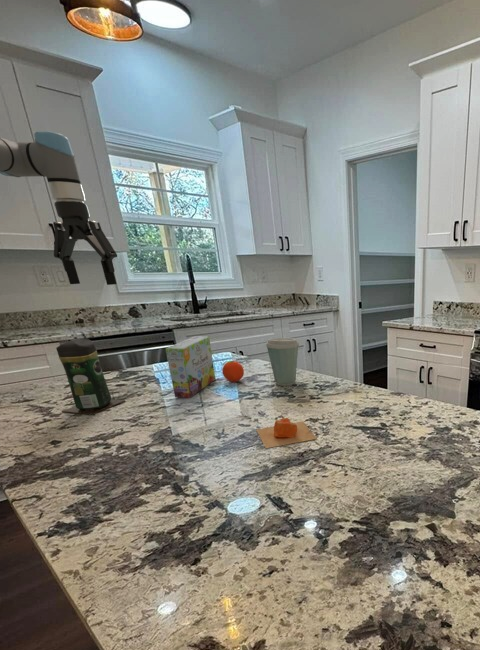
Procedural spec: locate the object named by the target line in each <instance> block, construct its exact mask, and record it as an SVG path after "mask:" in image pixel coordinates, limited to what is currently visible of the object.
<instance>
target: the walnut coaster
mask: <svg viewBox="0 0 480 650" xmlns="http://www.w3.org/2000/svg"><path fill="white" fill-rule="evenodd" d="M125 402H126V399H116V398H115V399H114V398H111V401H110V402H109V403H108V404H107V405H105V406H104V407H100V408H95V409H92V410H83V409H77V408H76V405H75V406H72V407H68V408H66V409H63V410H61V413H66V414H75V415H85V416H93V415H95V414H98V413H100V412H104V411H105V410H107V409H110V408H113V407H116V406H118V405H121V404H123V403H125Z"/></svg>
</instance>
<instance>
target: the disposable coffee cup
mask: <svg viewBox="0 0 480 650" xmlns="http://www.w3.org/2000/svg"><path fill="white" fill-rule="evenodd" d="M299 343H300V342H299V341H298V340H297V338H291V337H275V338H274V337H273V338H268V339H267V341H266V342H265V347H266V349H267V354H268V358H269V361H270V365H271V370H272V374H273V378H274V382H275V384H276V385H278V386H283V387H285V386H292V385H294V384H295V383H296V380H297V379H296V378H297V367H298V355H299V354H298V353H299V346H300V344H299Z"/></svg>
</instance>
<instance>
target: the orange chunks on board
mask: <svg viewBox="0 0 480 650" xmlns="http://www.w3.org/2000/svg"><path fill="white" fill-rule="evenodd" d="M256 432H257V435H258V436H259V438H260V440H261V442H262V444H263V446H264V448H265V449H270V448H275V447H280V446H285V445H290V444H297V443H301V442H306V441H307V442H308V441H311V440H317V439H318V438H317V437H316V435H315V434H314V433H313V432H312V431H311V429H310V428H309V427H308V425H307V424H306V423H305V421H298V422H292V421H290V418H289V417H283V418H282V419H280V420H277V419H276V420H275V421H274V424H273V426H267V427H263V428H257V429H256Z"/></svg>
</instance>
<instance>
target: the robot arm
mask: <svg viewBox="0 0 480 650" xmlns="http://www.w3.org/2000/svg"><path fill="white" fill-rule="evenodd" d="M33 136H34V141H32V142H24V141H23V142H22V141H21V142H20V141H12V140H10V139H6V138H4V137H3V138H2V137H0V174H1V175H2V176H5V177H13V178H23V177H25V178H27V177H28V178H29V177H45V178H46V179H47V184H48V187H49V190H50V195H51V198H52V200H54V203H53V204H54V207H55V211H56V214H57V217H59V218H60V219H61V221H62V222H61V221H60V222H59V221H53V223H52V225H53V229H54V237H53V238H54V240H53V257H54V258H57V259H59V260H60V261H61V262H62V266H63V269H64V271H65V272H66V275H67V279H68V282H69V284H70V285H80V284H81V281H80V278H79V275H78V272H77V269H76V265H75V262H74V260H73V258H72V255H73V252H74V249H75V245H76V243H77V242H78V241H79V240H84V241H85V242H87V243H88V244H89V245H90V246H91V248H92V249H93V250H94V251H95V252H96V253H97V254H98V256H100V264H101V267H102V272H103V275H104V278H105V282H106V285H107V286H110V285H111V286H112V285H117V279H116V276H115V267H114V263H113V260H114V259H115V258H118V253H117V252H116V250H115V249H114V247H113V245H112V244H111V242H110V240H109V239H108V237H107V236H106V234H105V232H104V231H103V230H102V226H101V223H100V221H95V220H89V219H90V218H91V215H90V211H89V207H88V205H87V204H86V197H85V192H84V189H83V186H82V182H81V179H80V175H79V172H78V167H77V163H76V159H75V157H76V156H75V154H74V151H73V149H72V146H71V143H70V140H69V138H68V137H67V136H66V135H64V134H62V133H59V132H54V131H49V130H48V131H47V130H46V131H45V130H40V131H35V132H34V134H33Z"/></svg>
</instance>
